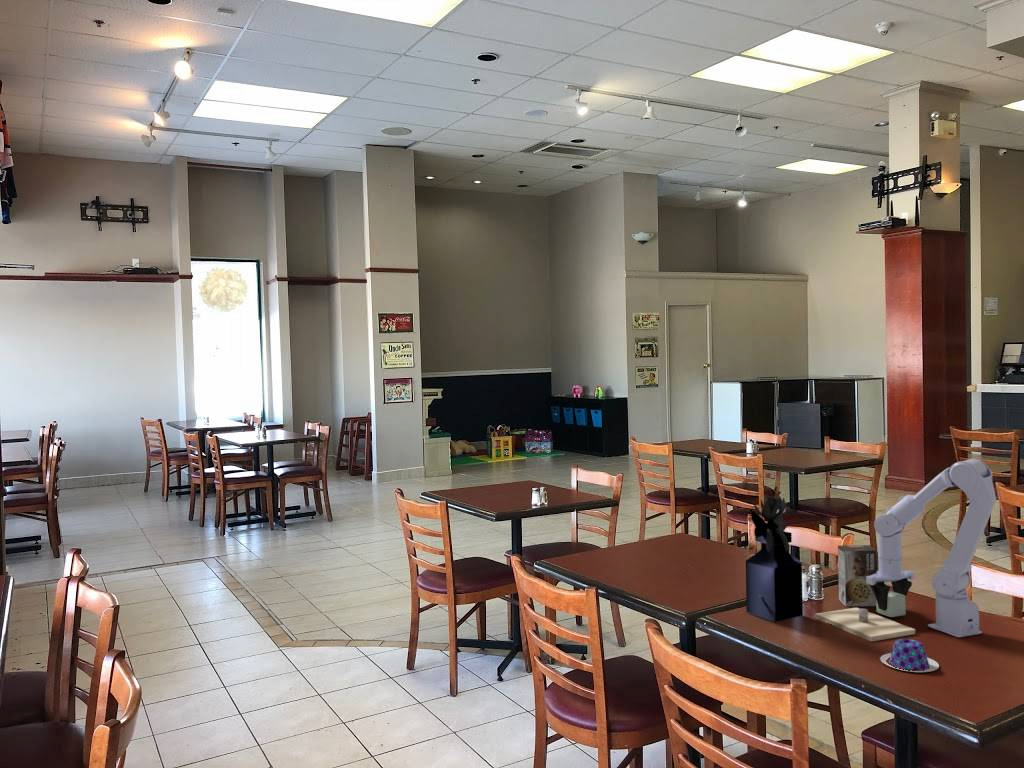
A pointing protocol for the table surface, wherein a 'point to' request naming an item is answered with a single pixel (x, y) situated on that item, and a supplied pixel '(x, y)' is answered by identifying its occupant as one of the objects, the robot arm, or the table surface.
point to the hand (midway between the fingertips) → (890, 608)
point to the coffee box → (856, 574)
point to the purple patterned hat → (910, 656)
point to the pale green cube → (893, 605)
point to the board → (865, 624)
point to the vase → (773, 567)
